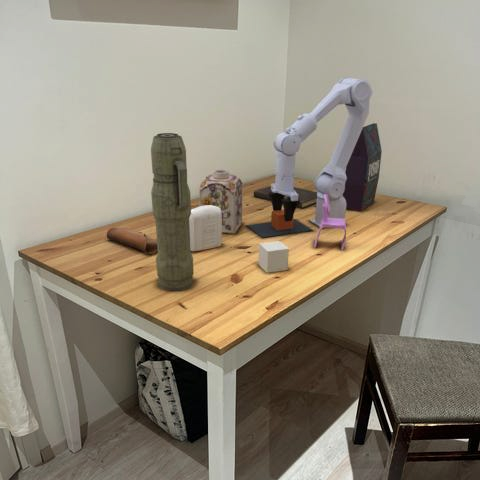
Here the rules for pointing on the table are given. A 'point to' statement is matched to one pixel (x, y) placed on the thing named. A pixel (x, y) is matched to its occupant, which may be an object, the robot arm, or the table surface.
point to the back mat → (268, 231)
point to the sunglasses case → (133, 239)
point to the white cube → (273, 256)
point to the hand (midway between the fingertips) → (282, 217)
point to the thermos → (171, 212)
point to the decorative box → (363, 170)
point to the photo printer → (205, 227)
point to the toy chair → (330, 221)
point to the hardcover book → (304, 196)
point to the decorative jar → (223, 198)
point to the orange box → (280, 220)
